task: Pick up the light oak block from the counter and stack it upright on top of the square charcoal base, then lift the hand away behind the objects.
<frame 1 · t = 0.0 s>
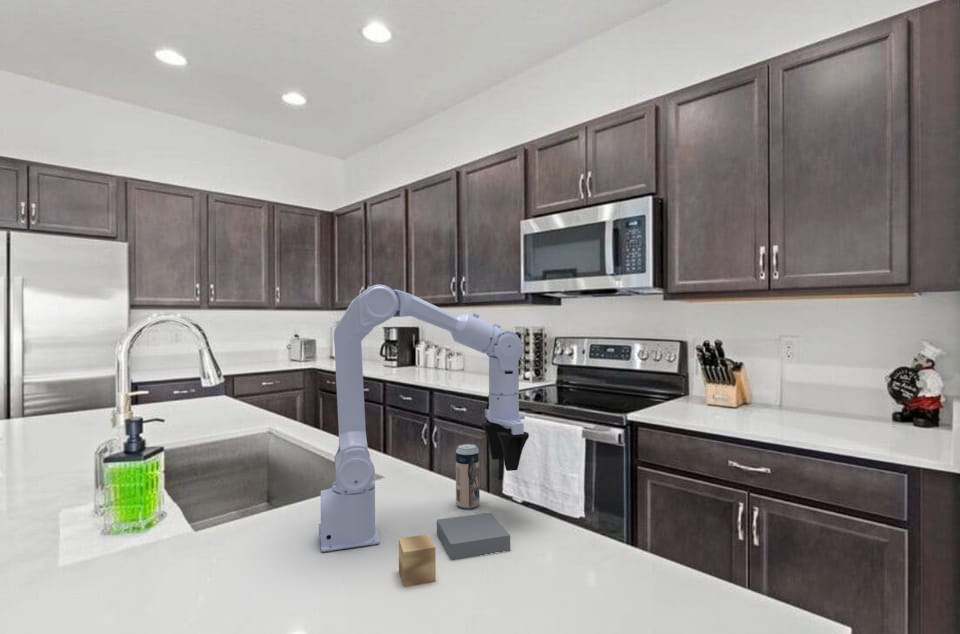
hand: (504, 464, 94), 10 cm above the counter, tool pointing down, fingers open, 7 cm apart
oak block: (416, 576, 72), on the counter
charcoal base: (472, 544, 83), on the counter
beer can: (467, 506, 100), on the counter
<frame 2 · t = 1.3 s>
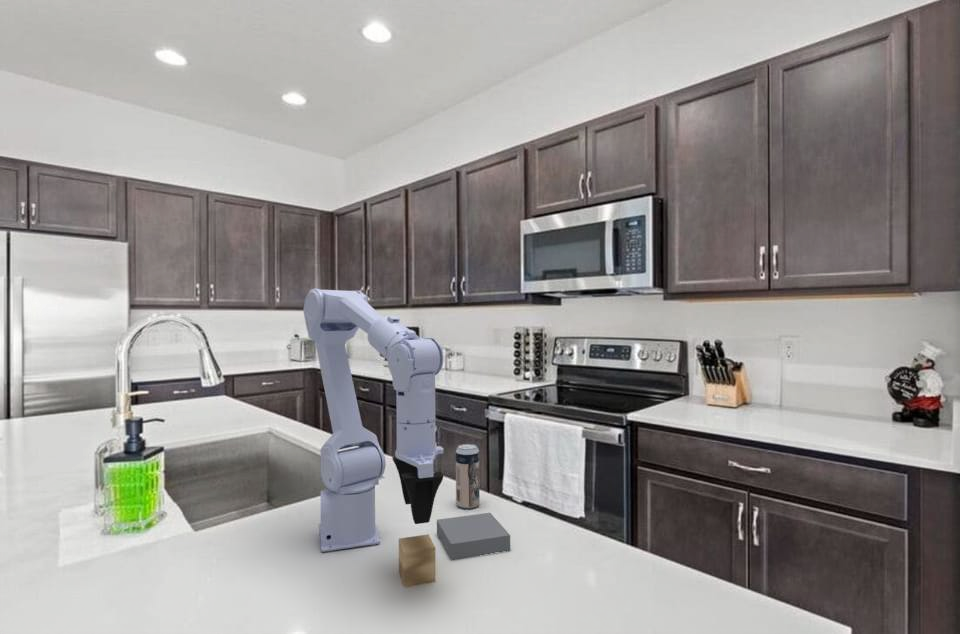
hand: (416, 512, 72), 9 cm above the counter, tool pointing down, fingers open, 7 cm apart
nothing on the counter moved.
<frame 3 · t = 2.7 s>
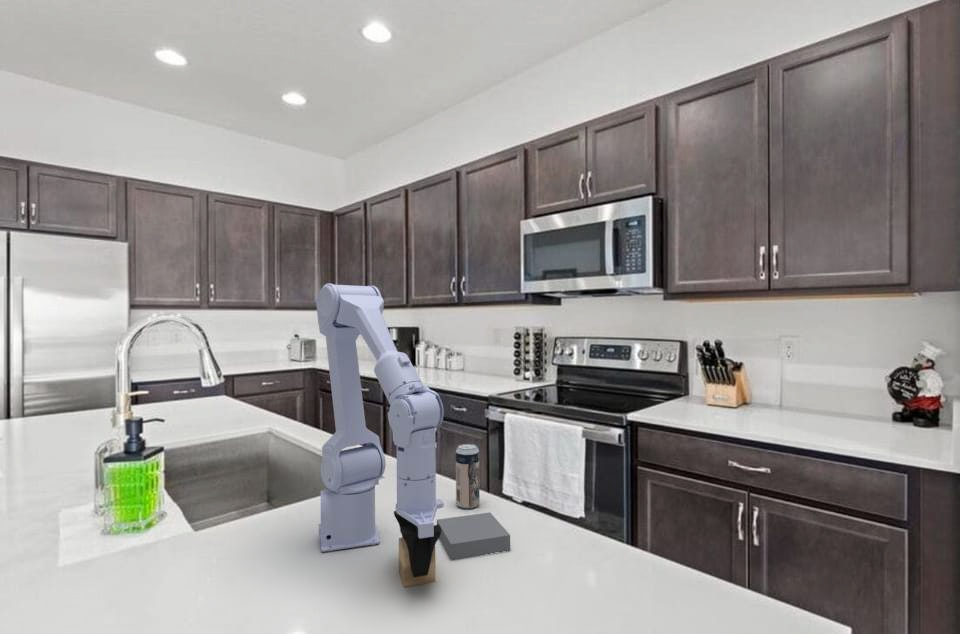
hand: (416, 566, 72), 1 cm above the counter, tool pointing down, fingers closed on oak block, 5 cm apart
oak block: (416, 576, 72), on the counter, touching gripper
everything else where it was.
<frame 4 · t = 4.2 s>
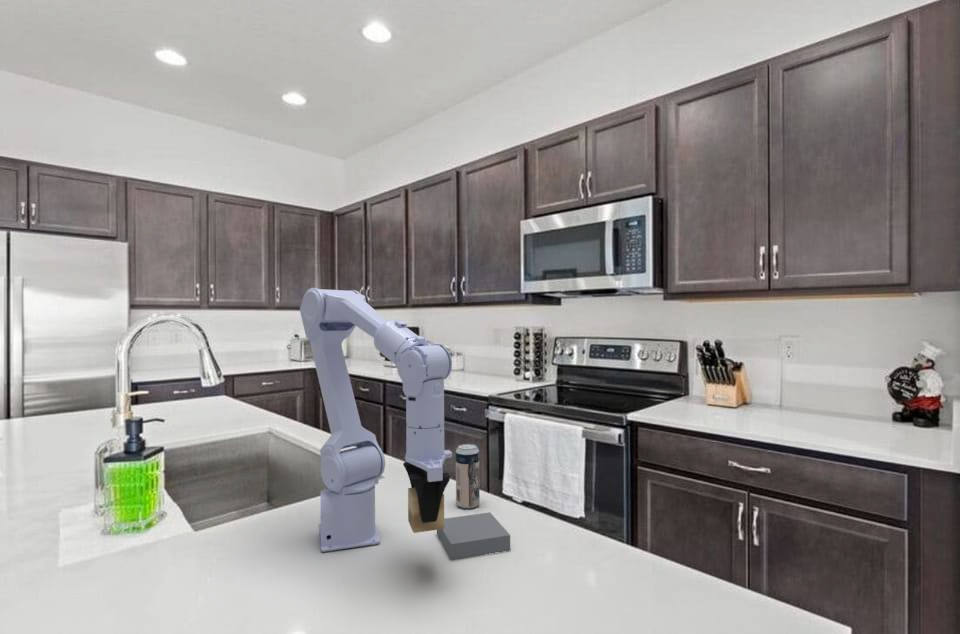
hand: (425, 514, 74), 8 cm above the counter, tool pointing down, fingers closed on oak block, 5 cm apart
oak block: (425, 524, 74), point 7 cm above the counter, touching gripper
everything else where it was.
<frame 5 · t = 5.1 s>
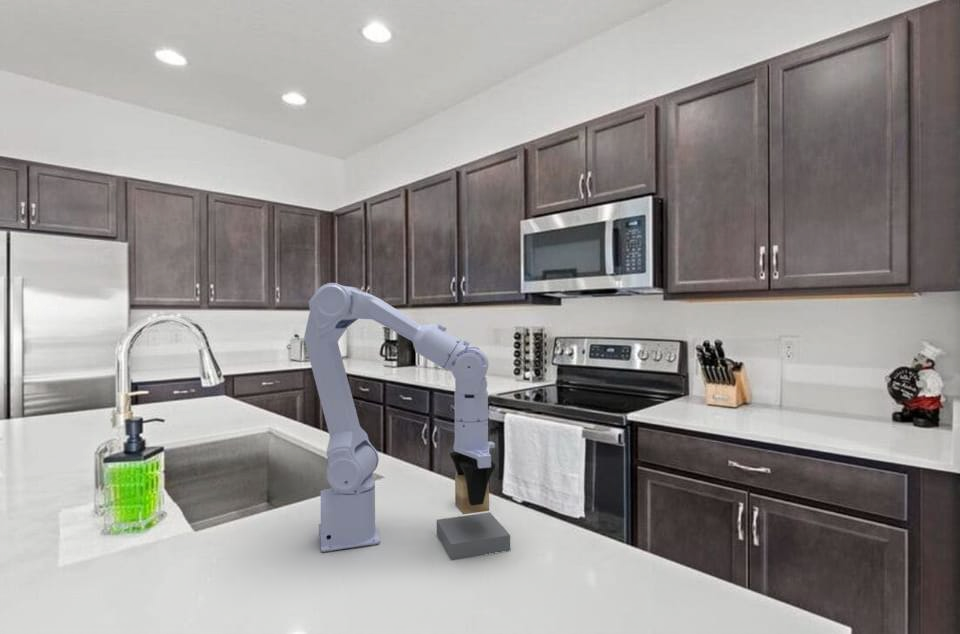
hand: (472, 498, 83), 7 cm above the counter, tool pointing down, fingers closed on oak block, 5 cm apart
oak block: (472, 507, 83), point 6 cm above the counter, touching gripper
everything else where it was.
when the fingers open (6 cm above the counter, at t = 5.8 s): oak block drops 2 cm, point 3 cm above the counter.
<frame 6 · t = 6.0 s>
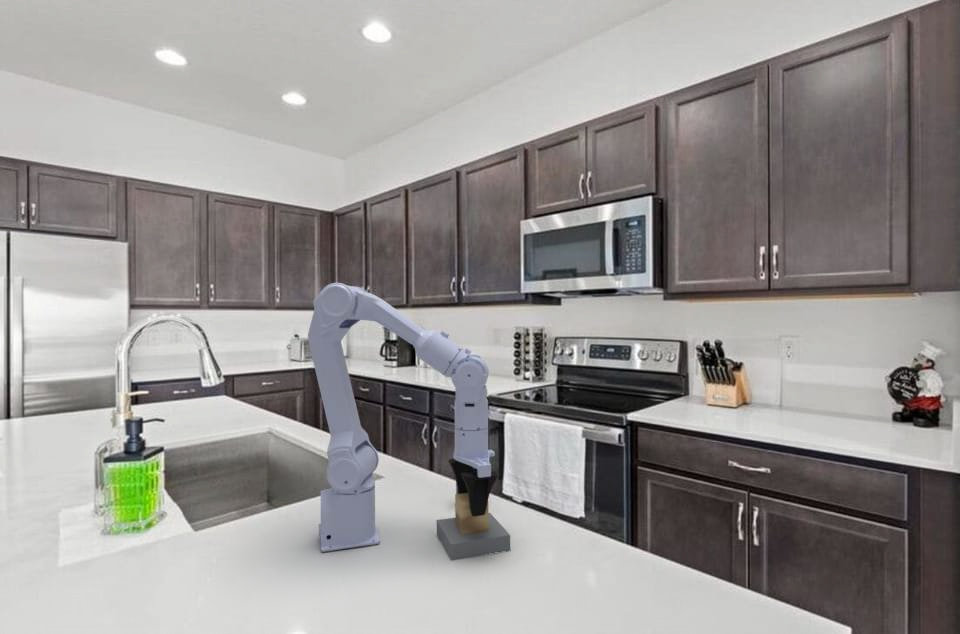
hand: (471, 507, 83), 6 cm above the counter, tool pointing down, fingers open, 6 cm apart
oak block: (471, 526, 83), point 3 cm above the counter
everything else where it was.
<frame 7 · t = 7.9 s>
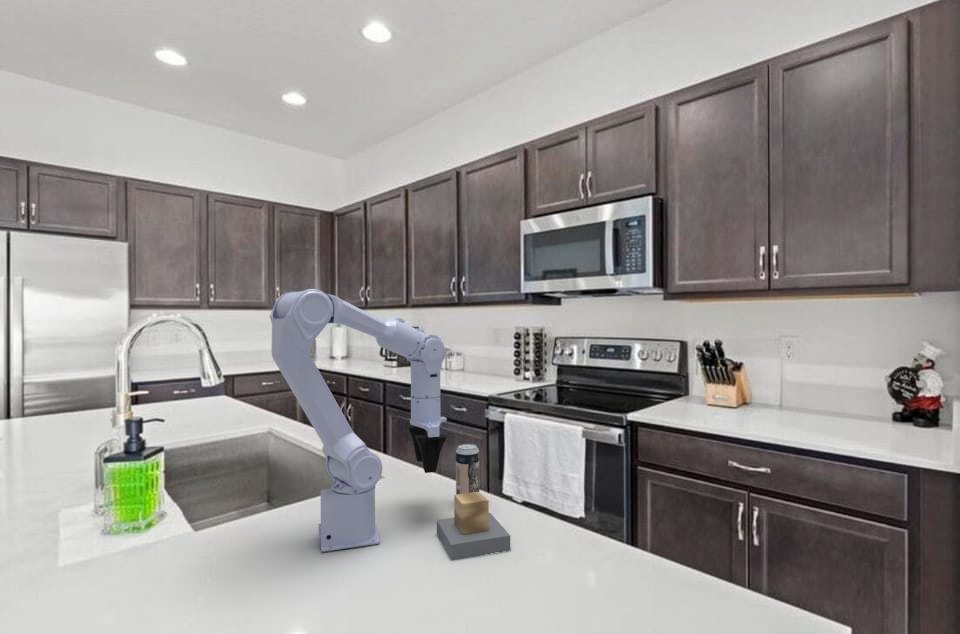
hand: (426, 466, 95), 9 cm above the counter, tool pointing down, fingers open, 7 cm apart
oak block: (471, 526, 83), point 3 cm above the counter, touching charcoal base
charcoal base: (472, 545, 83), on the counter, touching oak block
everything else where it was.
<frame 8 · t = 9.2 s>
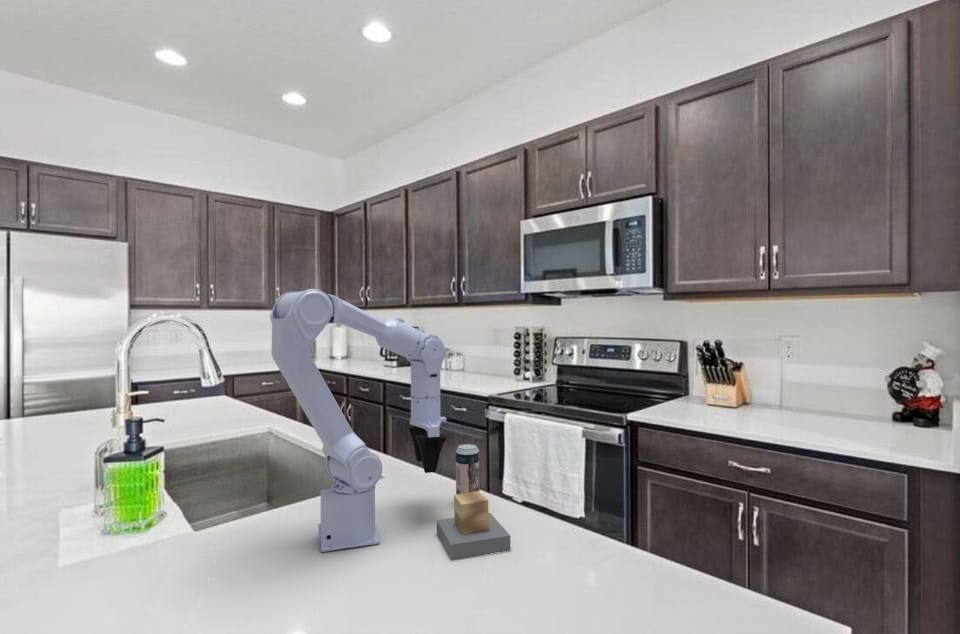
hand: (426, 466, 95), 9 cm above the counter, tool pointing down, fingers open, 7 cm apart
oak block: (471, 526, 83), point 3 cm above the counter
charcoal base: (472, 545, 83), on the counter
everything else where it was.
at the end: oak block 0.1 cm off-centre on the charcoal base, point 3.0 cm above the charcoal base's base; oak block tilted 1°; the gripper is holding nothing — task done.
